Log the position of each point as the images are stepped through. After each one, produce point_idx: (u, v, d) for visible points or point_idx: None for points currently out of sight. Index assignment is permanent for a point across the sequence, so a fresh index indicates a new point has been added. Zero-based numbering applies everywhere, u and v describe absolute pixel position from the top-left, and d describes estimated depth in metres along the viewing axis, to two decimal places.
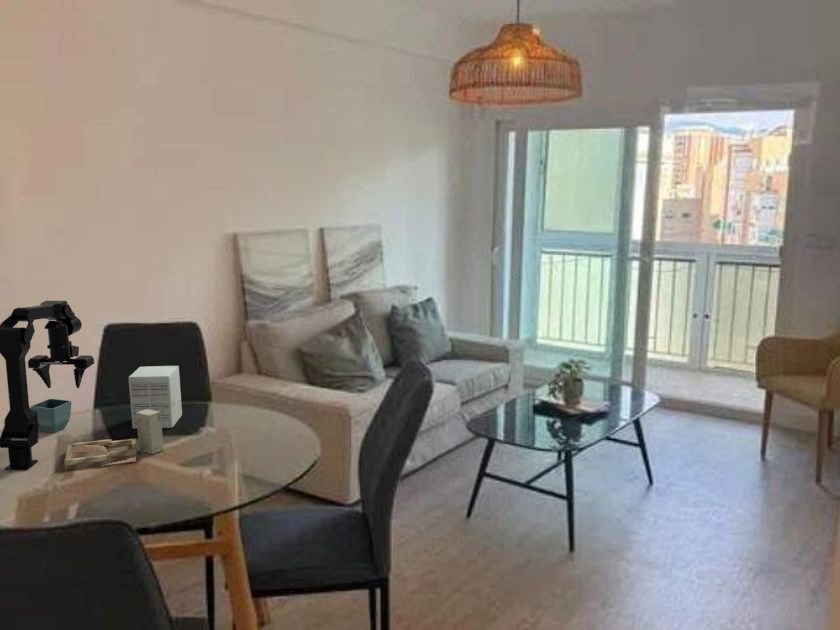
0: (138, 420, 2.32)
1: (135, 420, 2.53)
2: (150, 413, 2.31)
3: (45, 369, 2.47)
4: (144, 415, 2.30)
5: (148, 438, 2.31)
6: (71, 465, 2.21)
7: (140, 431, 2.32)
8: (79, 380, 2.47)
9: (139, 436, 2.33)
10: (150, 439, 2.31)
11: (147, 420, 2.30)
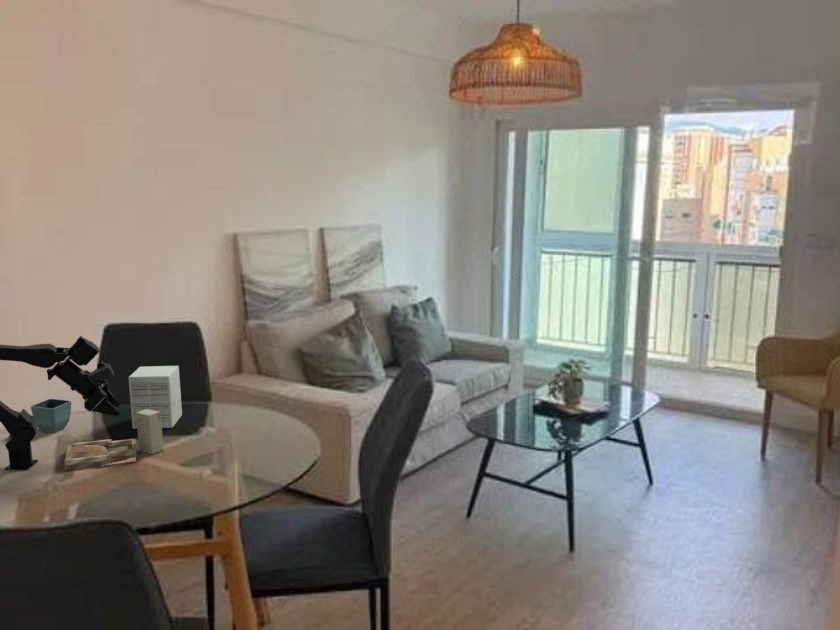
0: (138, 420, 2.32)
1: (135, 420, 2.53)
2: (150, 413, 2.31)
3: None
4: (144, 415, 2.30)
5: (148, 438, 2.31)
6: (71, 465, 2.21)
7: (140, 431, 2.32)
8: (109, 412, 2.24)
9: (139, 436, 2.33)
10: (150, 439, 2.31)
11: (147, 420, 2.30)
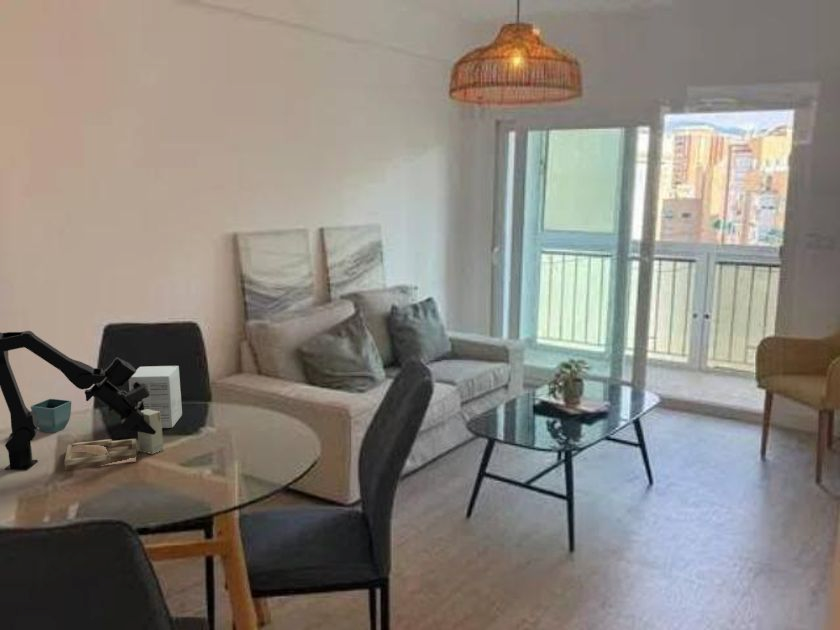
0: None
1: None
2: (150, 413, 2.31)
3: None
4: (144, 415, 2.30)
5: (148, 438, 2.31)
6: (71, 465, 2.21)
7: None
8: (146, 430, 2.28)
9: (139, 436, 2.33)
10: (150, 438, 2.31)
11: (147, 420, 2.30)
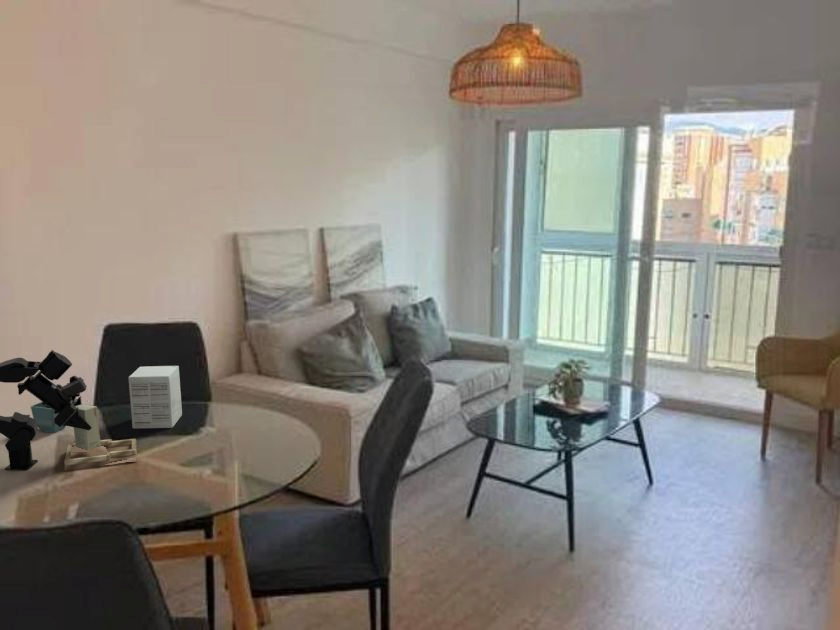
0: None
1: (135, 420, 2.53)
2: (86, 408, 2.25)
3: None
4: (80, 409, 2.24)
5: (84, 433, 2.25)
6: (71, 465, 2.21)
7: None
8: (81, 426, 2.22)
9: (75, 431, 2.27)
10: (85, 434, 2.24)
11: (83, 415, 2.24)
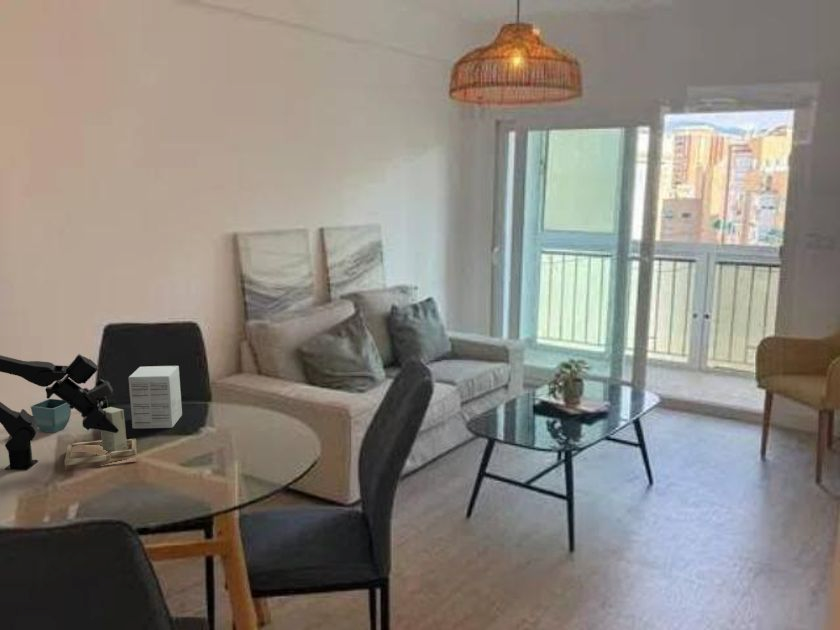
0: None
1: (135, 420, 2.53)
2: (113, 411, 2.27)
3: None
4: (107, 413, 2.26)
5: (111, 436, 2.27)
6: (71, 465, 2.21)
7: None
8: (108, 428, 2.25)
9: (102, 434, 2.29)
10: (113, 437, 2.27)
11: (110, 418, 2.26)
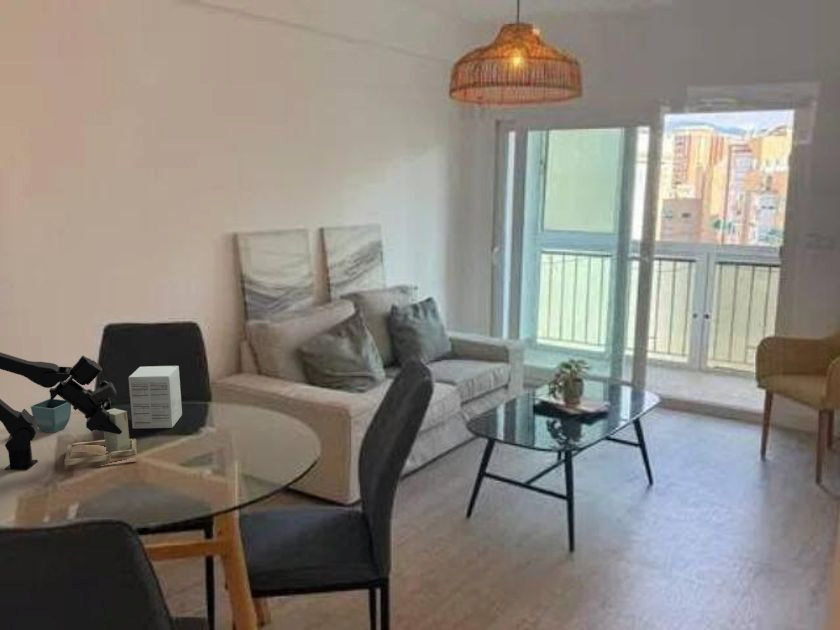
0: None
1: (135, 420, 2.53)
2: (116, 412, 2.28)
3: None
4: (110, 414, 2.27)
5: (114, 437, 2.28)
6: (71, 465, 2.21)
7: None
8: (111, 430, 2.25)
9: (105, 436, 2.30)
10: (116, 438, 2.27)
11: (113, 420, 2.27)
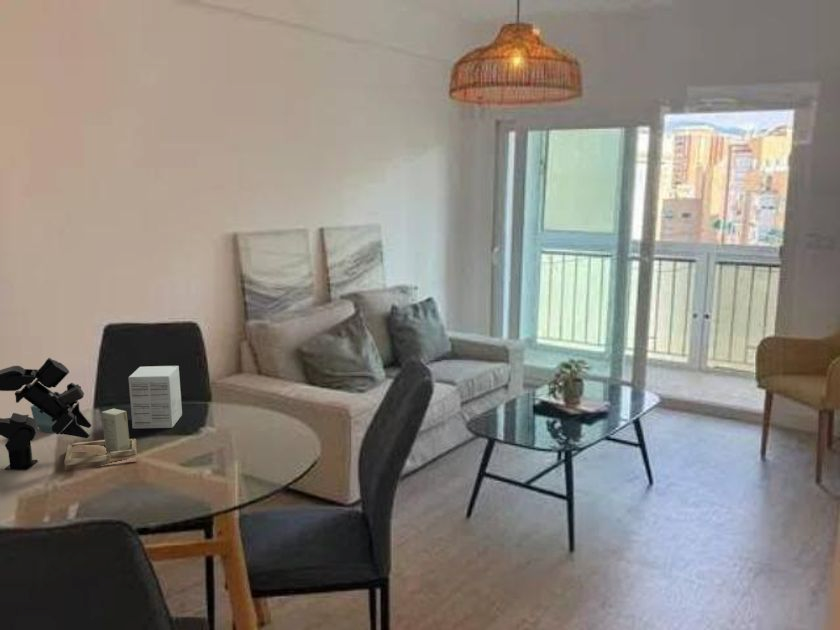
0: (104, 420, 2.29)
1: (135, 420, 2.53)
2: (116, 412, 2.27)
3: None
4: (110, 414, 2.27)
5: (114, 437, 2.28)
6: (71, 465, 2.21)
7: (106, 431, 2.29)
8: (78, 434, 2.22)
9: (105, 436, 2.30)
10: (116, 438, 2.27)
11: (113, 420, 2.26)
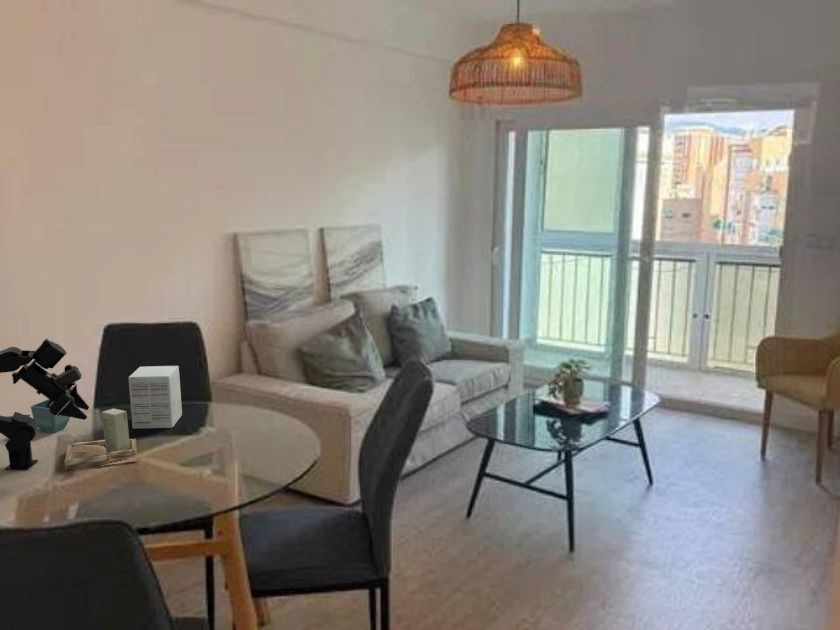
0: (104, 420, 2.29)
1: (135, 420, 2.53)
2: (116, 413, 2.27)
3: None
4: (110, 414, 2.27)
5: (114, 437, 2.28)
6: (71, 465, 2.21)
7: (106, 431, 2.29)
8: (76, 415, 2.20)
9: (105, 436, 2.30)
10: (116, 438, 2.27)
11: (113, 420, 2.26)
